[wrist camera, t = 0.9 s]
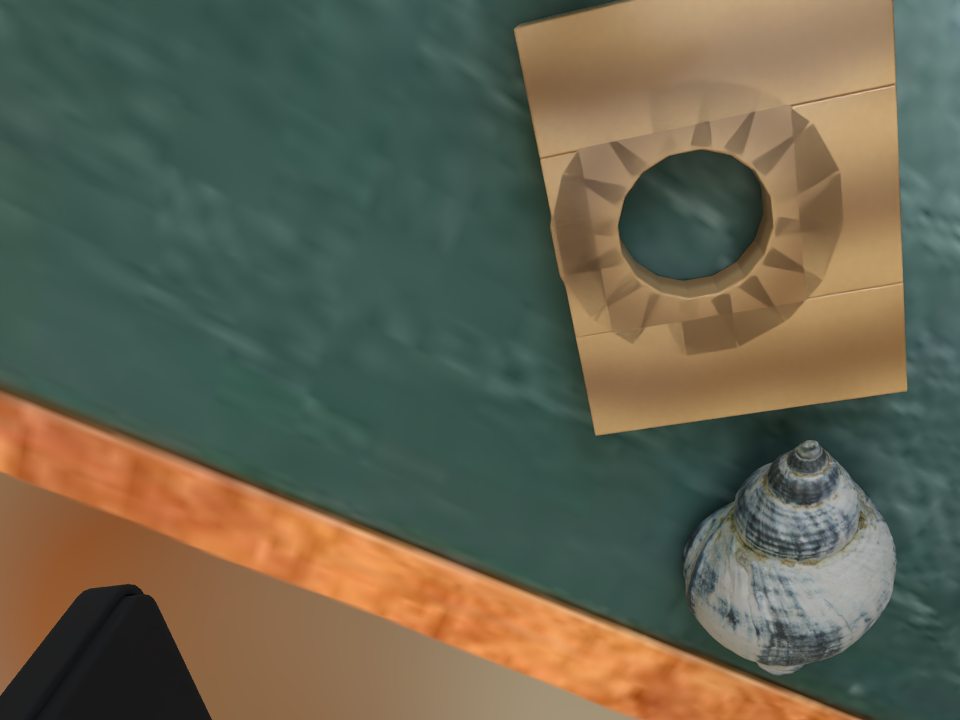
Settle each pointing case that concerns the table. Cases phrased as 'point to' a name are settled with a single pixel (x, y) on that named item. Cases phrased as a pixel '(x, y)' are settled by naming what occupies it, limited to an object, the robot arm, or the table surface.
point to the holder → (784, 188)
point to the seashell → (791, 563)
